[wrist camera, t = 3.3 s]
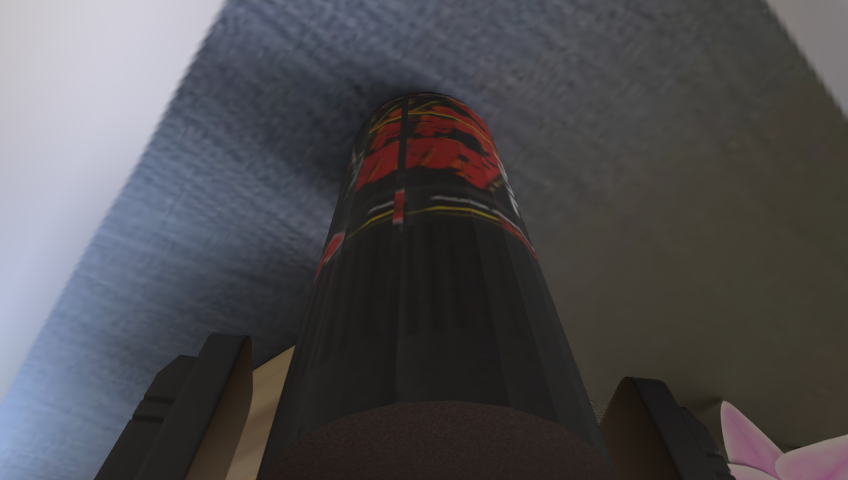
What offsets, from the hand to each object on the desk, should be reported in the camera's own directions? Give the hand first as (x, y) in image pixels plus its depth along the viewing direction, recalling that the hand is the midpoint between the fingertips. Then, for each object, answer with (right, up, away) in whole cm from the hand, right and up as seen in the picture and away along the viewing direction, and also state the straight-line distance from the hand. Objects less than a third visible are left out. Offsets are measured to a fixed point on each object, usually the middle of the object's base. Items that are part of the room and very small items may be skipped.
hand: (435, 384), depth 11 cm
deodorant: (0, +6, +10) cm, 12 cm away
